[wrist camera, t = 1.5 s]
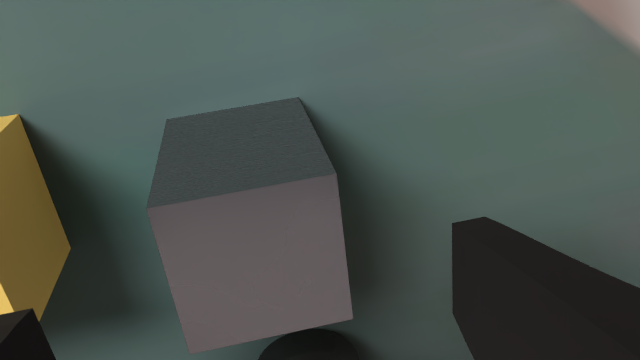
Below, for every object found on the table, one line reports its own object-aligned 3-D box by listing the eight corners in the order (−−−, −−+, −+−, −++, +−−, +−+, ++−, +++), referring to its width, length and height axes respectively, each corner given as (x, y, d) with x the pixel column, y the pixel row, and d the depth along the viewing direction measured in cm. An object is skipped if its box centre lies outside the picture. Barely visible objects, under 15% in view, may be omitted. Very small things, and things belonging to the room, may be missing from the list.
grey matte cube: (298, 96, 14) (337, 173, 10) (313, 209, 16) (353, 319, 12) (166, 118, 14) (146, 209, 10) (195, 232, 16) (189, 354, 11)
